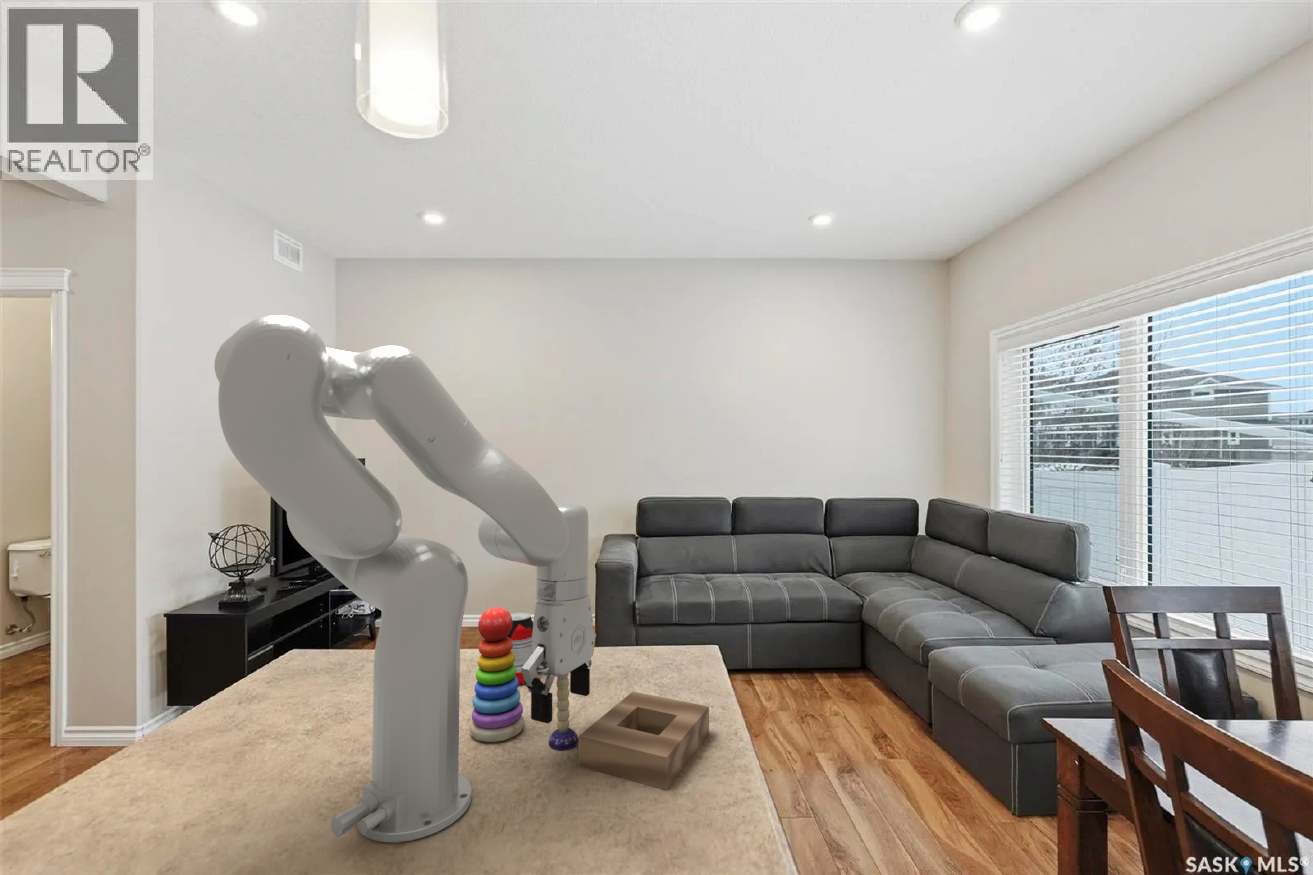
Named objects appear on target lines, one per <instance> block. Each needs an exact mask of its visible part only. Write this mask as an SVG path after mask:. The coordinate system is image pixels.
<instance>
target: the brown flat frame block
mask: <svg viewBox="0 0 1313 875" xmlns="http://www.w3.org/2000/svg"><path fill="white" fill-rule="evenodd" d="M709 734H710V706H708V705H704V704H700V703H699V704H698V703H695V702H694V703H693V702H690V701H689V702H688V701H684V700H683V701H682V700H677V699H673V698H667V697H662V696H657V695H652V694H649V693H648V694H646V693H643V692H638V691H631V692H630V693H628V695H627V696H625V697H624V698H623V699H622V700H620V701H618V703H617V704H616V705H614V706H613V707H612V708H610V710H608V711H607V712H606V713H605V714H604V715H603V716H601V717H600V718H599V719H598V720H596V721H595V722H594V723H592V724H591V725H590V726H589V727H588V728H587V729H585V730H584V731H582V732H581V733H580V734H579V735H578V767H581V768H584V769H588V770H592V771H596V772H600V773H603V774H607V775H610V776H615V777H617V778H622V779H626V780H628V781H629V780H630V781H632V782H636V783H641V784H644V785H648V786H650V787H655V788H657V789H662V790H666V791H667V790H668V789H669V787H670V786H671V785H672V783H673V781H675V779H676V778H677V777H678V775H679V774H680V773H681V771H682V770H683V769H684V767H685V766H686V765H687V764H688V762H689V761H690V760H691V758H692V757H693V755H694V754H695V752H696V751H697V750H698V749H699V747H700V746H701V745H702V744H703V742H704V741H705V739H706V738H707V737H708V736H709Z"/></svg>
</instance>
